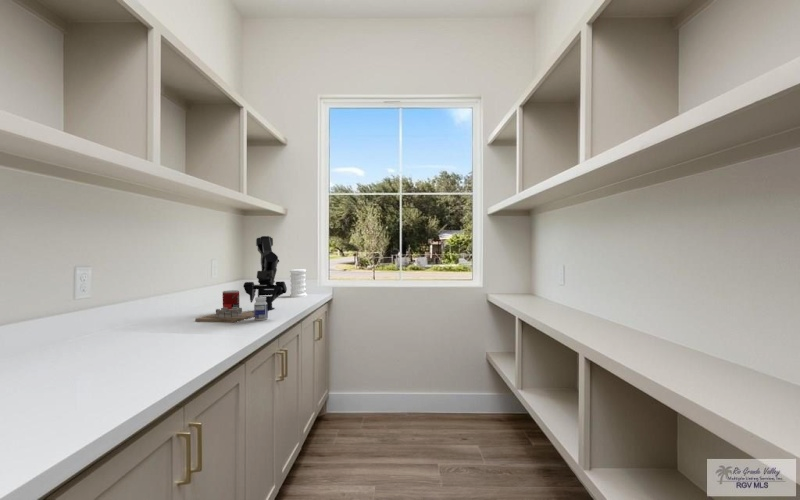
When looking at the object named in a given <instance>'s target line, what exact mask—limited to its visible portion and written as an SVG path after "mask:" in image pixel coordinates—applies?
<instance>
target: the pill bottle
mask: <svg viewBox="0 0 800 500" xmlns="http://www.w3.org/2000/svg"><path fill="white" fill-rule="evenodd" d="M254 301H255V302H254V304H253V308H254V309H253V310H254V311H253V313H254V315H255V317H254V320H255V321H265V320H268V318H269V312H268V311H269V310H268V304H267V302H266V297H258V296H257V297H254Z"/></svg>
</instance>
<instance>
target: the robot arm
mask: <svg viewBox="0 0 800 500" xmlns="http://www.w3.org/2000/svg"><path fill="white" fill-rule="evenodd" d="M273 238H274V237H272V236H270V235H262V236H260V237H257V238H256V239H255V246H256V247H257V251H258V253H259V254H260V267H261V270H257V273H256V279H257V282H258V284H255V282H254V281H248V282H247V281H246V282H244V284H243V288H244V291H245V293H246V294H247V295H249V300H250V304H251V303H253V302H254V300H255V296H256V291H257V297H266V302H267V304H268V311H271V310H274V309H275V310H276V308H275V307H273V302H274V301H275V300H277V298H278V297H280V296H282V295H283V294H287V290H288V287H287V284H286V282H285V281H283V280H282V281H275V278H276V274H277V271H278V269H277V267H278V264H279V263H280V260H279V256H278V255H277V254H276V253H275V252H273V249H272V247H273V246H274V239H273ZM274 283H275V284H274Z"/></svg>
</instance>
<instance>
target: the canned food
mask: <svg viewBox="0 0 800 500" xmlns="http://www.w3.org/2000/svg"><path fill="white" fill-rule="evenodd" d="M232 307H239V308H240V290H237V289H236V290H233V289H232V290H231V289H230V290H223V291H222V308H228V309H232Z"/></svg>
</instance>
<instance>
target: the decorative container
mask: <svg viewBox="0 0 800 500" xmlns="http://www.w3.org/2000/svg"><path fill="white" fill-rule="evenodd" d="M306 272H307V269H289V273H290V294H289V297H290V298H305V297H308V293H307V292H306V291H307V289H306V286H307V284H306V280H307V279H306V277H307V275H306Z"/></svg>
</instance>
